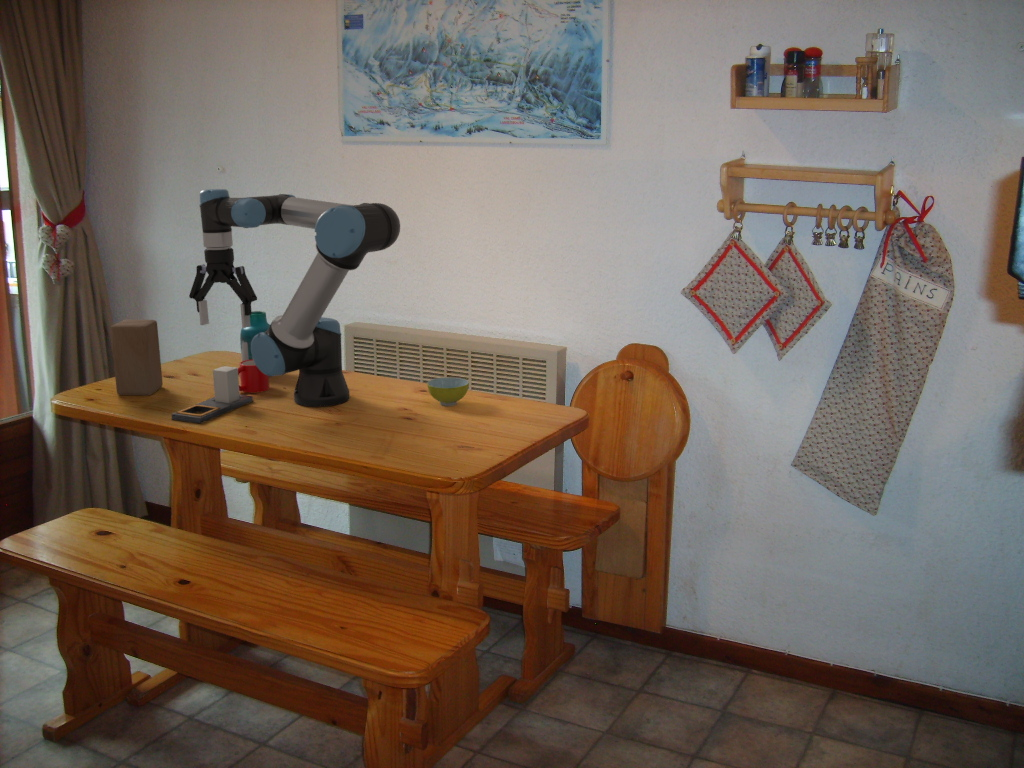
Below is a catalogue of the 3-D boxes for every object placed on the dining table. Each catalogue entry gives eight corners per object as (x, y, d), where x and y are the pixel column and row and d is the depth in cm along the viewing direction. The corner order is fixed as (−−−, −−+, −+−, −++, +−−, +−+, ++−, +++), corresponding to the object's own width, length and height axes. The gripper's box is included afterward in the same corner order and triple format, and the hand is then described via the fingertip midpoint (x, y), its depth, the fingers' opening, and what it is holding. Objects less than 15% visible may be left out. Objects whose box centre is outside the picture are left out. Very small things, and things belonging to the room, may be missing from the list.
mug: (224, 393, 275) (222, 366, 273) (255, 383, 285) (253, 357, 283) (245, 397, 272) (243, 370, 270) (275, 387, 282) (273, 361, 280)
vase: (285, 373, 297) (282, 311, 292) (259, 380, 289) (255, 317, 284) (260, 368, 303) (257, 307, 298) (234, 375, 294) (230, 313, 289)
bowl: (420, 401, 269) (420, 380, 267) (457, 396, 274) (457, 375, 273) (438, 412, 259) (437, 389, 258) (476, 406, 265) (476, 384, 263)
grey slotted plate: (252, 401, 268) (252, 395, 267) (200, 423, 248) (199, 417, 248) (225, 397, 271) (225, 391, 271) (171, 419, 251) (171, 413, 251)
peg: (240, 403, 266) (237, 367, 264) (229, 407, 262) (226, 371, 259) (226, 401, 268) (223, 366, 265) (215, 405, 264) (212, 370, 261)
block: (151, 396, 272) (144, 326, 267) (115, 395, 272) (108, 325, 267) (164, 386, 282) (158, 319, 276) (130, 386, 282) (123, 318, 276)
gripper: (266, 247, 260) (272, 325, 265) (189, 244, 268) (196, 320, 273) (249, 250, 253) (256, 330, 258) (171, 248, 261) (178, 325, 267)
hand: (225, 325), depth 266 cm, fingers open, 13 cm apart
